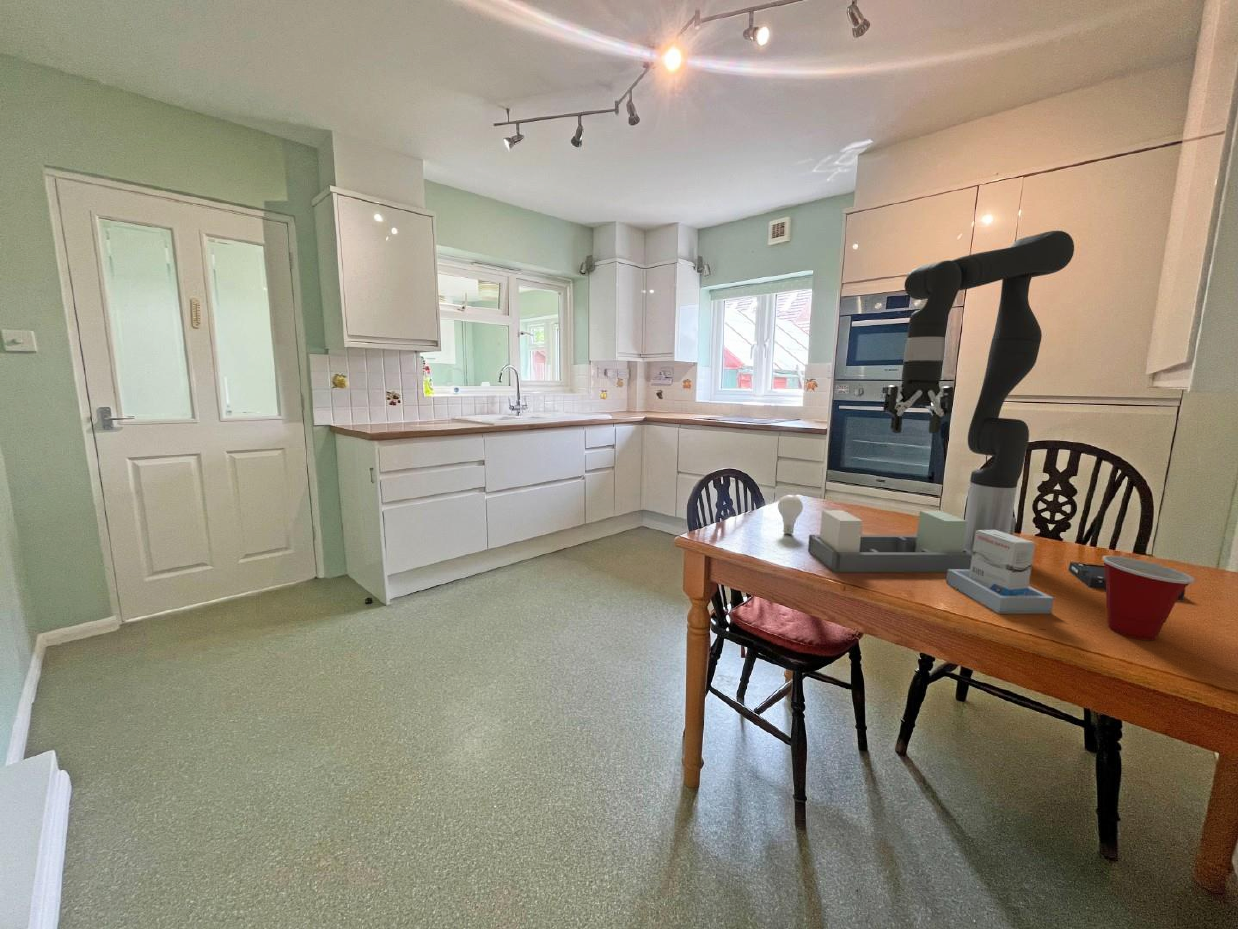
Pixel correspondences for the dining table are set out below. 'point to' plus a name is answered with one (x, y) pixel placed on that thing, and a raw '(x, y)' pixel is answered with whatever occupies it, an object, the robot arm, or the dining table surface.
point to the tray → (1000, 604)
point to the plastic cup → (1140, 595)
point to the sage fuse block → (940, 532)
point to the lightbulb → (789, 511)
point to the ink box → (1002, 562)
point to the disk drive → (1094, 575)
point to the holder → (888, 556)
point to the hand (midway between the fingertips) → (914, 432)
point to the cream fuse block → (840, 530)
